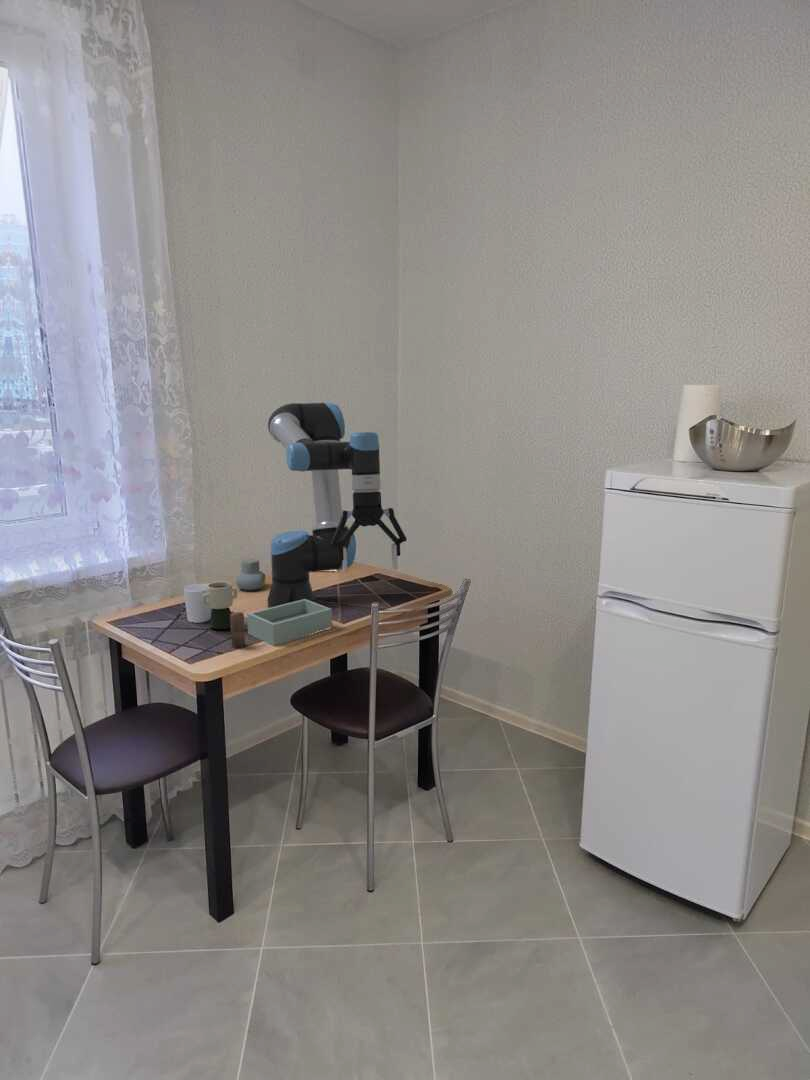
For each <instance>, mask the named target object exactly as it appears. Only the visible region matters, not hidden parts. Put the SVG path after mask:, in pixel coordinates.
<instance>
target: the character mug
mask: <svg viewBox="0 0 810 1080" xmlns="http://www.w3.org/2000/svg"><path fill="white" fill-rule="evenodd" d="M207 584H208V585H207V593H206V594H203V595H202V603H203V605H207V604H208V606H209V607H210V608H211V619H210V620H209V621H210V622H209V623H210V626H209V627H210V628H212V629H216V630H225V629H226V630H227V629H229V628H231V621H230V614H232V613H231V609H230V608H231V607H233V602H234V601H233V600H234V599H236V598H238V589H237V587H234V586H233V583H231V582H230V581H214V582H210V583H207ZM205 597H207V601H206V598H205Z"/></svg>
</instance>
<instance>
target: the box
mask: <svg viewBox="0 0 810 1080" xmlns="http://www.w3.org/2000/svg"><path fill="white" fill-rule="evenodd" d="M246 616H247V619H246V620H247V634H248V635H250V636H252V637H254V638H256V639H259V640H260V641H262V642H265V643H266V644H268V645H270V646H272V647H274V646H275V645H276V646H279V645H282V644H286V643H288V642H292V641H295V639H296V640H299V639H302V638H304V637H303V636H306V635H309V634H312V633H315V632H317V631H320V630H324V629H326V628H329V627H332V628H333V610H332V608H330V607H327V606H325V605H322V604H319V603H317V602H316V601H315V602H312V601H309V600H307V599H303V600H299V601H295V602H291V603H287V604H283V605H279V606H275V607H271V608H268V607H267V608H263V609H259V610H256V611H252V612H247V613H246ZM309 636H310V635H309ZM301 637H302V638H301ZM306 637H307V636H306ZM298 638H299V639H298Z"/></svg>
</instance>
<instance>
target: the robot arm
mask: <svg viewBox="0 0 810 1080" xmlns="http://www.w3.org/2000/svg"><path fill="white" fill-rule="evenodd" d="M267 429H268V432H269V434H270V436H271V438H273V439H274V440H275V441H276V442H277V443H280V444H281V445H282V446H283V447H284V448H285V450H286V454H285V455H286V456H285V457H286V464H287V467H288V469H289V471H292V472H302V473H303V472H310V471H311V478H312V479H311V480H312V490H313V498H314V499H313V501H314V502H313V503H314V510H315V511H314V512H315V513H314V514H315V521H316V523H315V526H314V527H313V528H312V531H311V532H312V534H311V535H310V534H309V532H307V530H292V531H286V532H281V533H279V534H277V535H275V536H274V537H273V538H272V540H271V544H270V555H271V578H272V580H271V586H270V588H269V593H268V597H267V599H266V601H267V602H266V603H267V608H271V607H275V606H279V605H283V604H287V603H291V602H295V601H299V600H303V599H307V600H309V601H312V602H315V603H316V596H315V594H314V591H313V587H312V585H311V582H310V573H312V572H313V573H314V572H324V571H325V572H326V571H336V570H337V571H340V570H342V572H343V573H344V574H347V573H348V569H349V568H350V567H351V566H352V565H353V563H354V561H355V557H356V551H357V540H356V536H355V534H354V533H355V532H356V531H357V530H358V528H359V527H360V526H361V527H367V526H371V527H375V526H378V527H379V528H380V529H381V530H382V531H383V532H384V533H385V534H386V536H388V538H390V540H391V541H392V542H393V543H391V563H392V564H391V565H392V566H391V567H392V569H394V570H397V569H398V557H400V556H401V544H402V543H404V542H407V539H408V538H407V537H406V535H405V533H404V531H403V529H402V527H401V526H400V523H399V522H398V520H397V518H396V516H395V511H394V509H393V507H388V508H383V507H382V492H381V491H379V490H380V489H381V487H382V486H381V472H380V471H381V467H380V465H381V463H380V443H379V435H378V433H376V432H374V431H369V432H367V431H361V432H353V433H351V434H350V436H349V441H341V440H342V439H344V437H345V434H346V431H345V430H346V424H345V419H344V416H343V412H342V409H341V408H340V406H339V405H337V404H335V403H330V402H329V403H327V402H308V403H307V402H306V403H300V402H299V403H292V402H291V403H287V404H284V405H282V406H279V407H278V408H276V409H275V410H274V411H273V412H272V413H271V414H270V416H269V418H268V422H267ZM339 470H351V483H352V485H351V487H352V489H351V490H353V491H354V492H353V493H352V511H351V510H345V509H342V507H343V506H342V496H341V487H340V476H339ZM384 514H385V517H388V520H389V521H390V523H391V525H392V527H393V528H394V530H395V532H396V534H397V536H398V537H397V536H396V535H395V533H394V532H392V530H391V529H390V528H389V527H388V526H387V525H386V524H385V523H384V521H382V517H383V516H384ZM351 516H352V517H353V518H354V521H353V522H352V524H351V526H350V527H349V526H348V525H347V521H348V520H349V519H350V518H351Z"/></svg>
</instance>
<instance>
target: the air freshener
mask: <svg viewBox="0 0 810 1080" xmlns="http://www.w3.org/2000/svg"><path fill="white" fill-rule="evenodd" d="M240 563H241V572H239V573H238V574H237V576H236V579H235V583H236V586H237V587H238V588H239V589H241V590H243V591H257V590H258V591H259V590H260V589H261V588H263V587H264V586H265V584H266V573H264V572H263V571H261V570H260V560H259V559H257V558H253V557H251V558H249V557H248V558H244V559H242V560H241V562H240Z"/></svg>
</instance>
